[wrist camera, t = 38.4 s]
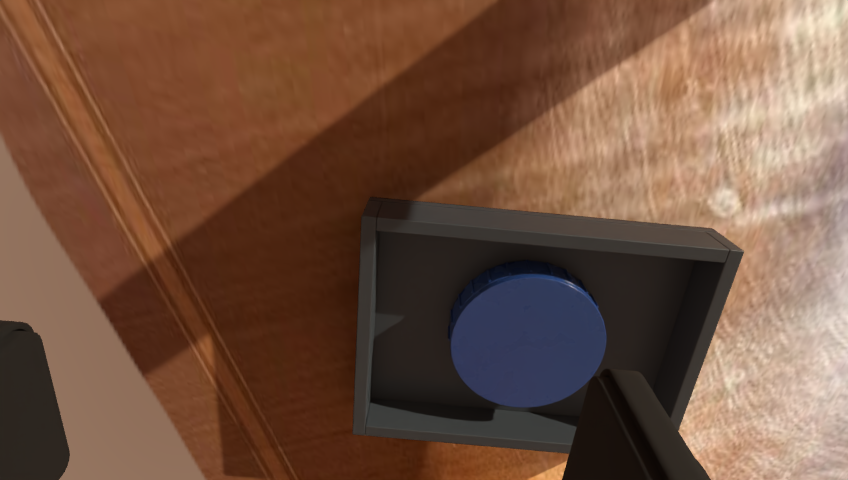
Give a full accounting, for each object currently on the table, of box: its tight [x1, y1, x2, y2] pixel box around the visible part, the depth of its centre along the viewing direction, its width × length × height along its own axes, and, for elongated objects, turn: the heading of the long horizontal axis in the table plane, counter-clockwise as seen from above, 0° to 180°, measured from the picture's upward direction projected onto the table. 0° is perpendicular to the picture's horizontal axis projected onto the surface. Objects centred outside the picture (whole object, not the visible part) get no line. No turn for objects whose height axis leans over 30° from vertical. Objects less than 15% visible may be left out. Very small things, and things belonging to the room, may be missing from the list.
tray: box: [353, 197, 744, 454], centre depth 23 cm, size 15×11×2 cm
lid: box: [448, 260, 606, 408], centre depth 23 cm, size 7×7×2 cm
